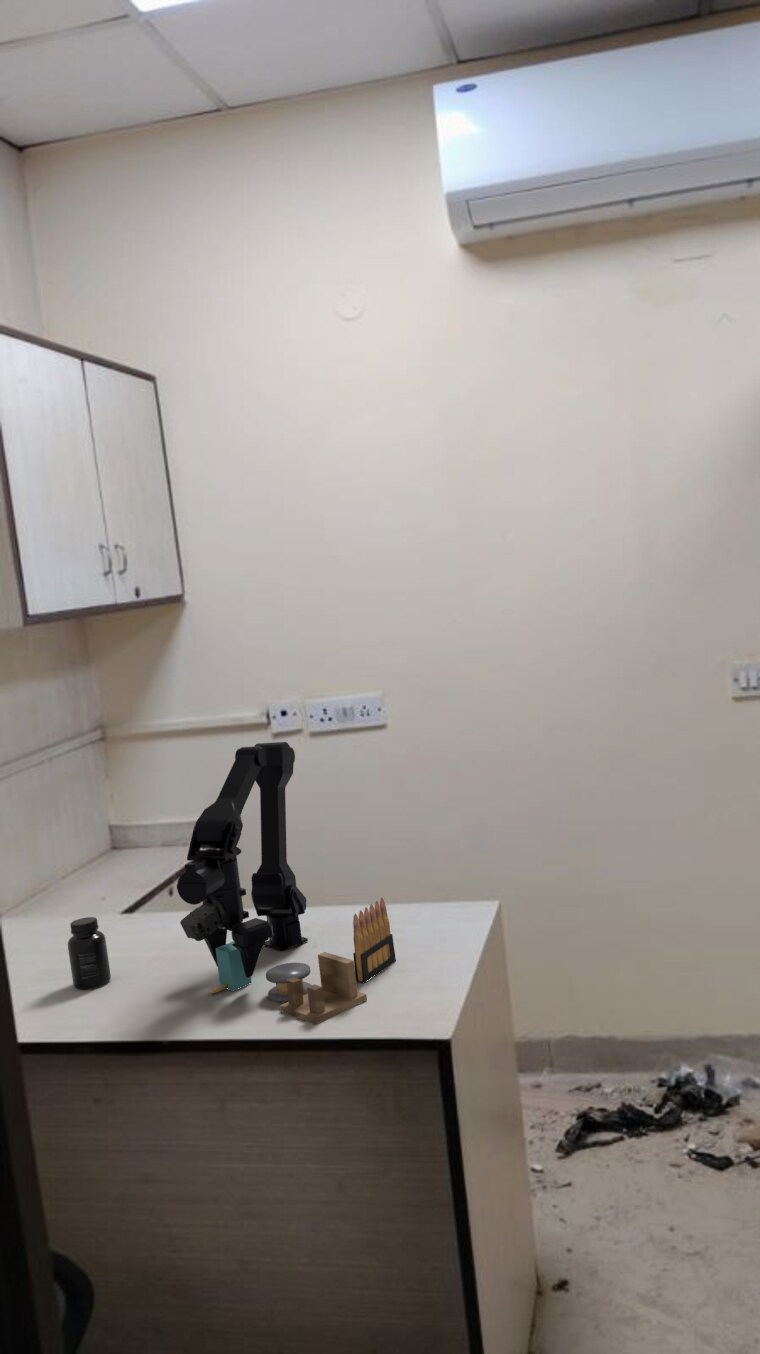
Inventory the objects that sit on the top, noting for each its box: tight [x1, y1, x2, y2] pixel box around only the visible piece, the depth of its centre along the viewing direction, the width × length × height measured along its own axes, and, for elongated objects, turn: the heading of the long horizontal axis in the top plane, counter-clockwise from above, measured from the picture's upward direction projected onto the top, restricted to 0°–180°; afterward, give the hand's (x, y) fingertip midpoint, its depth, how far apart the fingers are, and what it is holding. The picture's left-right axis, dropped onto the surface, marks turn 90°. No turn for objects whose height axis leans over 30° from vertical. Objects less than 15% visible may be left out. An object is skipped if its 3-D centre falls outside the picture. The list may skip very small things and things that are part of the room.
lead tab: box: [209, 941, 253, 995], centre depth 181 cm, size 4×8×7 cm, turn 133°
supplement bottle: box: [67, 916, 112, 991], centre depth 191 cm, size 7×7×12 cm
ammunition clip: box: [352, 897, 397, 984], centre depth 182 cm, size 11×2×12 cm, turn 148°
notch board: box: [279, 951, 368, 1025], centre depth 169 cm, size 9×11×7 cm
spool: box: [265, 962, 312, 1004], centre depth 176 cm, size 8×8×4 cm
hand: (234, 971), depth 183 cm, fingers open, 9 cm apart
